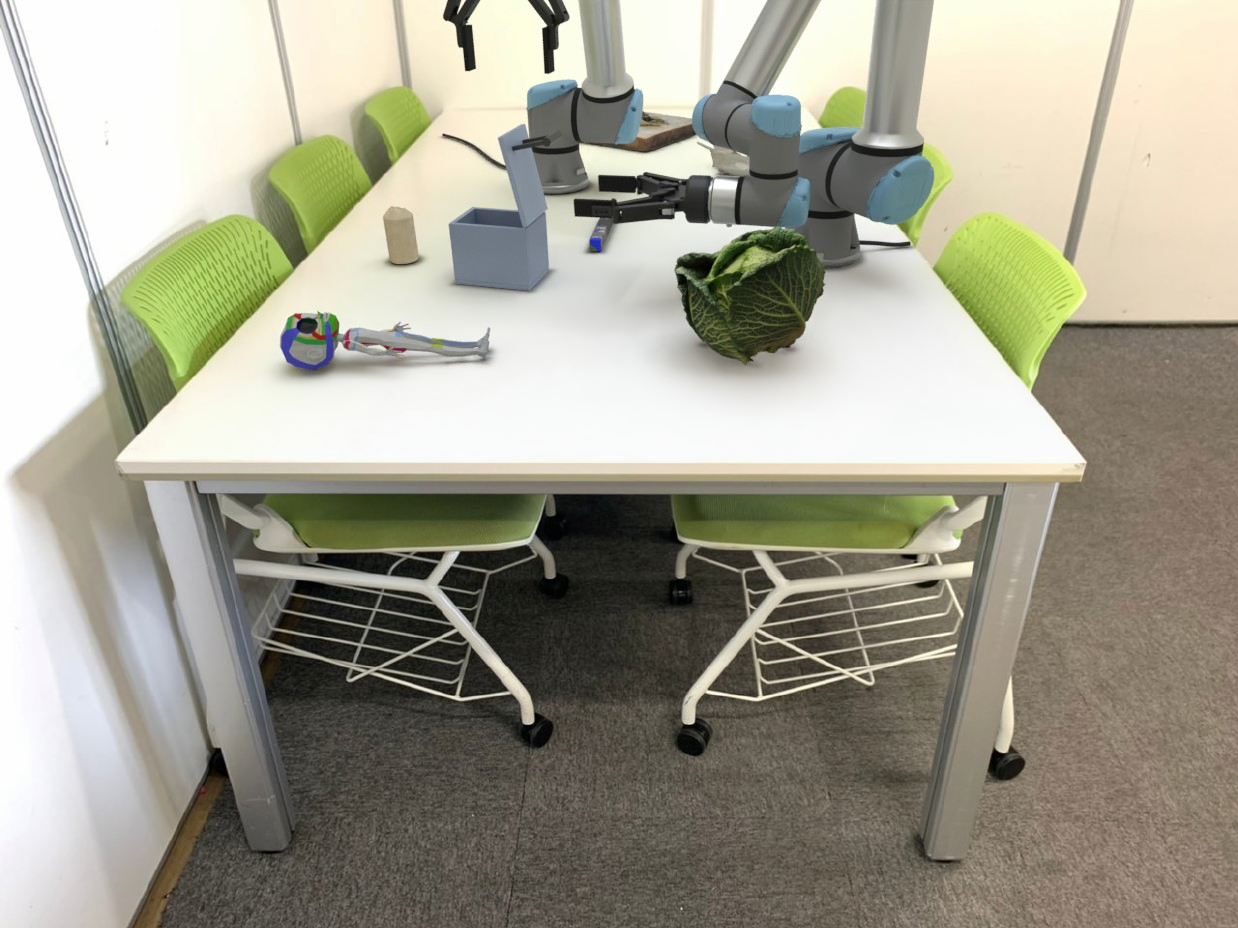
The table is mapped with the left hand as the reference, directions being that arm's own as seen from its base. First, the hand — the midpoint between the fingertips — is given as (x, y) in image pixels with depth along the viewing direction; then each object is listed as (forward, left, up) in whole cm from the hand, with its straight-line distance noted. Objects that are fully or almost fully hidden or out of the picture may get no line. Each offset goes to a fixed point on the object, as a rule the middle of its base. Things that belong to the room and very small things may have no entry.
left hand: (509, 71), depth 144 cm
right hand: (+11, +5, -19) cm, 23 cm away
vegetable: (+48, +3, -35) cm, 59 cm away
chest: (-4, -2, -35) cm, 35 cm away
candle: (-25, -9, -35) cm, 44 cm away
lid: (+1, 0, -16) cm, 16 cm away
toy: (+11, -36, -35) cm, 51 cm away
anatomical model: (-14, +84, -35) cm, 92 cm away
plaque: (-64, +97, -35) cm, 121 cm away
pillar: (-7, +27, -35) cm, 45 cm away
